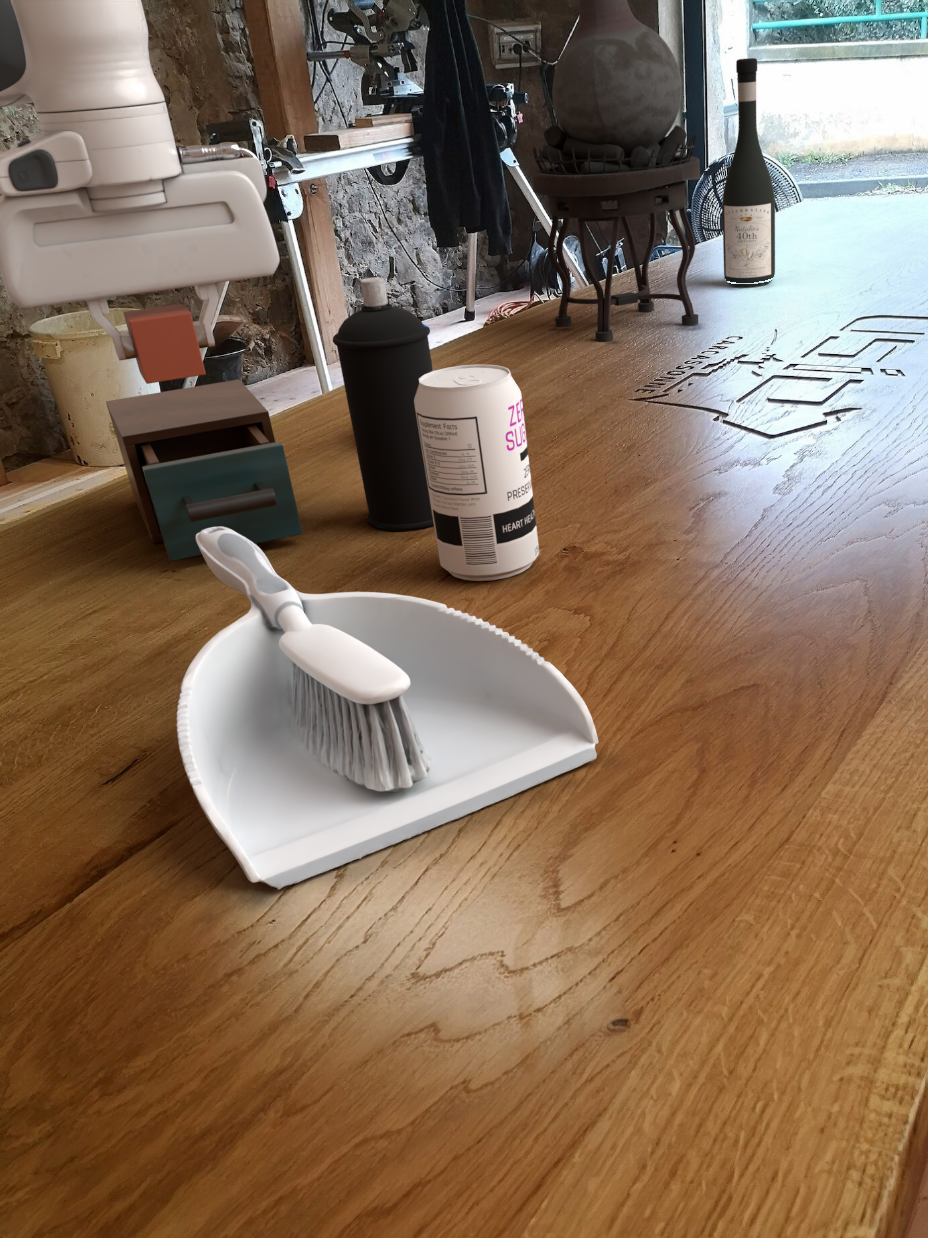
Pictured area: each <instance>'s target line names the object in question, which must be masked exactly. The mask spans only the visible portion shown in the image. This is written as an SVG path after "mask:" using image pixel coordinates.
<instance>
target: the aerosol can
mask: <svg viewBox="0 0 928 1238" xmlns="http://www.w3.org/2000/svg"><path fill="white" fill-rule="evenodd" d="M360 287H361V292H362V299H363V305H364V306H362V307H361V309H360V310H357V311H356V312H354V313H351V315H349V316H348V317H346V318H345V319H344V320H343V321H342V323H341V325H339V328H338V331H337V333H335V334H334V335H333V336H332V343H333V344H334V345H335V346H336V348H337V355H338V359H339V364H340V369H341V375H342V380H343V385H344V390H345V397H346V401H347V406H348V412H349V416H350V417H349V418H350V422H351V427H352V431H353V438H354V443H355V448H356V449H355V450H356V455H357V458H358V463H359V464H358V465H359V469H360V474H361V475H360V476H361V479H362V485H363V488H364V489H363V490H364V496H365V500H366V505H367V511H368V513H367V515H366V520H367V522H368V524H369V525H370V526H372V527H373V528H377V529H380V530H384V531H396V532H397V531H400V532H401V531H414V530H421V529H426V528H430V527H434V522H433V516H432V510H431V503H430V497H429V491H428V485H427V479H426V473H425V466H424V460H423V454H422V448H421V442H420V435H419V429H418V423H417V417H416V411H415V405H414V398H415V395H416V392H417V389H418V386H419V378H420V377H422V376H423V375H425V374H427V373H430V372H432V371H434V369H433V362H432V355H431V348H430V343H429V335H430V333H431V328H430V327H429V326H428V325H427V324H425V323H423V322H422V320H421V319H419V318H418V317H417V316H416V315H415V314H414V313H413V312H412V311H409V310H406V309H404V308H401V307H396V306H393V305H392V304H391V303H389V300H388V294H387V289H386V283H385V278H383V277H381V276H379V277H377V276H375V277H373V276H372V277H367V278H363V279H361V280H360Z"/></svg>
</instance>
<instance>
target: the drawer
mask: <svg viewBox="0 0 928 1238" xmlns="http://www.w3.org/2000/svg"><path fill="white" fill-rule="evenodd" d="M138 447H139V451H140V454H141V457H142V461H143V464H144V466H143V467H142V469H143V472H144V475H145V479H146V482H147V486H148V489H149V493H150V496H151V499H152V503H153V506H154V510H155V513H156V517H157V520H158V523H159V527H160V530H161V534H162V537H163V541H164V542H163V544H164V548H165V550H166V554H167V557H168V560H169V562H174V561H178V560H183V559H188V558H194V557H198V556H203V555H202V553H201V551H200V549H199V546H198V544H197V542H196V534H198V533H200V532H201V531H202V530H204V529H207V528H211V527H220V526H221V527H226V528H229V529H231V530H233V531H235V532H236V533H238V534H240V535H242V536H244V537H246V538H247V539H249V540H250V541H252V542H253V543H254V544H256V545H257V544H262V543H265V542H271V541H275V540H280V539H285V538H290V537H294V536H299V535H303V529H302V524H301V520H300V516H299V511H298V506H297V502H296V498H295V493H294V489H293V484H292V480H291V477H290V476H291V475H290V471H289V466H288V461H287V458H286V453H285V448H284V445H283V443H282V442H281V441H275V443H269V441H268V440H267V439H266V437H265V436H264V435H263V434H262V433H261V431H260V430H259V429H258V428H257V427H256V425H255V424H254V423H253V424H247V425H241V426H236V427H230V428H224V429H218V430H213V431H207V432H201V433H196V434H190V435H184V436H179V437H173V438H167V439H162V440H156V441H150V442H145V443H139V444H138Z"/></svg>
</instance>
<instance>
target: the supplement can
mask: <svg viewBox="0 0 928 1238" xmlns="http://www.w3.org/2000/svg"><path fill="white" fill-rule="evenodd" d="M520 389H521V388H520V387H519V386H518V383H516V381H515V380H514V378H513V376H512V373H511V370H510V369H509V368H508V367H505V366H502V365H496V364H480V363H479V364H477V363H476V364H464V365H456V366H449V367H443V368H439V369H435V370H433V371H432V372H430V373H427V374H425V375H423V376H422V377H420V378H419V386H418V389H417V392H416V395H415V398H414V405H415V411H416V417H417V423H418V429H419V435H420V442H421V448H422V454H423V460H424V466H425V473H426V479H427V485H428V491H429V497H430V503H431V510H432V516H433V522H434V526H433V527H434V535H435V540H436V546H437V550H438V559H439V565H440V567H441V568H443V569H444V570H445V571H446V572H448V573H449V574H450V575H452V576H453V577H455V578H456V579H461V580H464V581H473V582H474V581H476V582H483V581H496V580H501V579H508V578H511V577H513V576H516V575H519V574H521V573H523V572H525V571H526V570H528V569H530V568H531V566H532V564H533V563H534V561H535V560H537V558H538V556H539V555H540V547H539V546H540V545H539V537H538V528H537V519H536V511H535V502H534V493H533V485H532V477H531V476H532V475H531V468H530V467H531V466H530V460H529V451H528V450H529V449H528V441H527V440H528V439H527V431H526V423H525V416H524V415H525V413H524V406H523V398H522V391H521V390H520Z"/></svg>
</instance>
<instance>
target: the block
mask: <svg viewBox="0 0 928 1238" xmlns="http://www.w3.org/2000/svg"><path fill="white" fill-rule="evenodd" d="M122 315H123V317H124V320H125V324H126V327H127V328H126V329H127V331H130V333H131V335H132V338H133V342H134V347H135V349H136V353H137V357H138V358H135V360H136V364H137V367H138V371H139V373H140V375H141V377H142V378H143V381H144V382H145V384H146V385H149V384H155V383H163V382H167V381H174V380H180V379H187V378H194V377H199V376H205V375H206V374H207V373H206V370H205V364H204V361H203V357H202V353H201V348H199V344H198V340H197V336H196V332H195V328H194V324H193V322H194V321H193V317H192V316H193V315H192V313H191V312H190V311H189V310H188V308H187V307H186V306H185V305H184V304H183V303H178V304H171V305H164V306H158V307H157V306H156V307H150V308H142V309H136V310H127V311H123V314H122Z"/></svg>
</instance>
